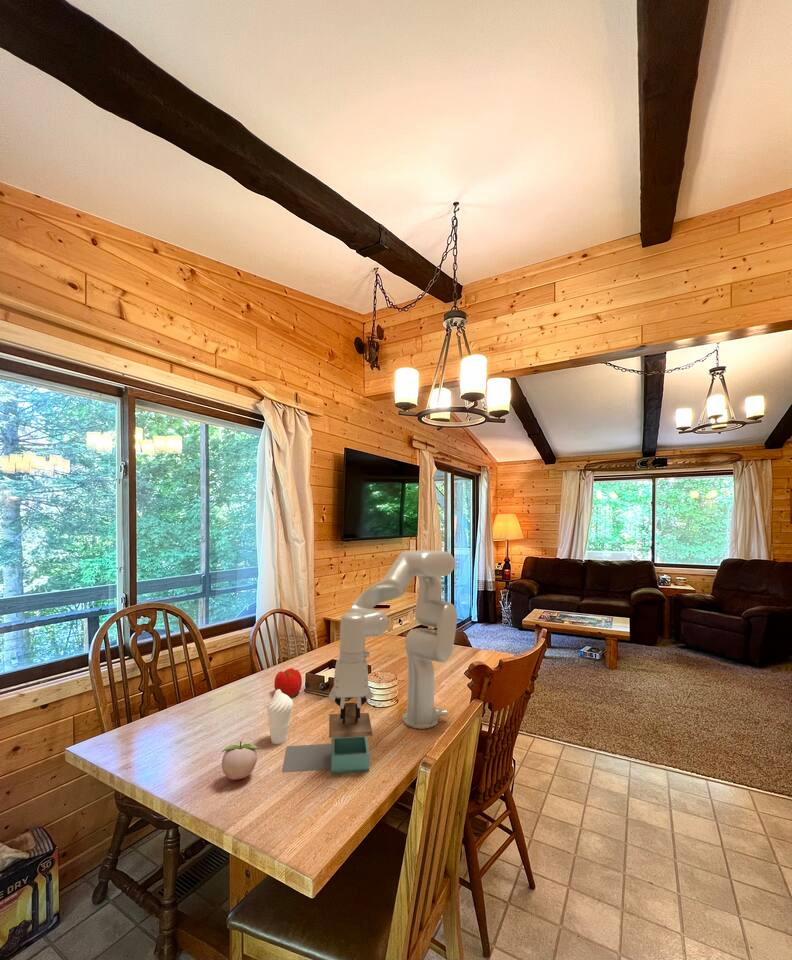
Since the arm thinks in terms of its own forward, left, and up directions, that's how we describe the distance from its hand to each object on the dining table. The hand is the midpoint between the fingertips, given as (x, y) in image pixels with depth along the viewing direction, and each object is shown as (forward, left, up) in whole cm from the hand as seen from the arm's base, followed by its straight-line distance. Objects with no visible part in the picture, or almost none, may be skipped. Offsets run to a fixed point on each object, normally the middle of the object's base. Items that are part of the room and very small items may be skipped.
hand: (350, 720), depth 128 cm
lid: (0, 0, -2) cm, 2 cm away
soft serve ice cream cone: (+22, -15, -12) cm, 29 cm away
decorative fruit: (+30, +5, -12) cm, 33 cm away
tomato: (+23, -53, -12) cm, 59 cm away
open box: (0, 0, -12) cm, 12 cm away
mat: (+12, -4, -12) cm, 17 cm away
